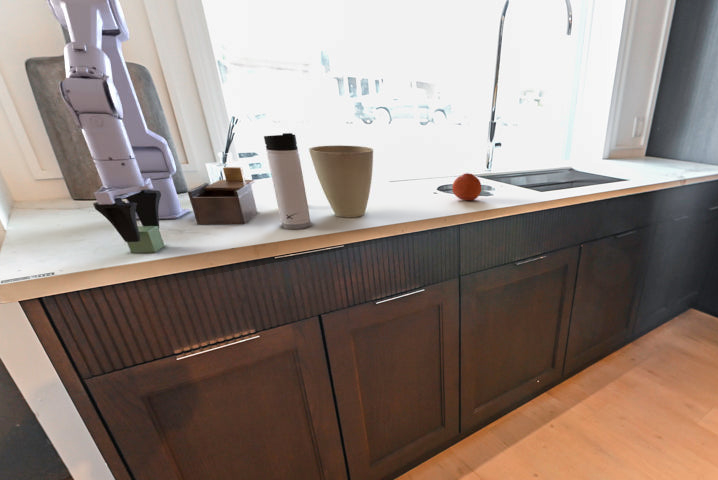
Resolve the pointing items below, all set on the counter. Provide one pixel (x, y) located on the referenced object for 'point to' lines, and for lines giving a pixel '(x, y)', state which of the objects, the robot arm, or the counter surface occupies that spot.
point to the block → (147, 240)
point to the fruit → (467, 187)
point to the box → (222, 205)
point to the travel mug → (288, 180)
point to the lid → (230, 180)
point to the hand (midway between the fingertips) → (143, 235)
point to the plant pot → (344, 177)
